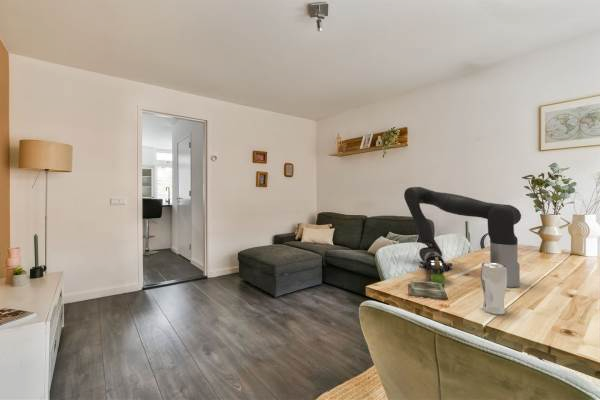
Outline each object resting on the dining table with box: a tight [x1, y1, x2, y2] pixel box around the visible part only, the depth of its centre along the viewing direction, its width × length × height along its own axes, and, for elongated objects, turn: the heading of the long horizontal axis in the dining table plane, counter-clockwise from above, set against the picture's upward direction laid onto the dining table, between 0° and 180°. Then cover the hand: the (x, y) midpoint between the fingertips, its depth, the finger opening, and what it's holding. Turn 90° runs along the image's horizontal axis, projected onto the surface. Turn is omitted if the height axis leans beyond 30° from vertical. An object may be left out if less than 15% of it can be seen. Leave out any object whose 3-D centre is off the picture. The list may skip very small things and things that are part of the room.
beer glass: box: [480, 262, 508, 316], centre depth 89 cm, size 7×7×15 cm
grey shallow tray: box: [407, 280, 449, 301], centre depth 106 cm, size 13×12×3 cm
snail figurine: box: [430, 255, 446, 285], centre depth 115 cm, size 5×6×12 cm
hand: (438, 271), depth 112 cm, fingers closed on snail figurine
